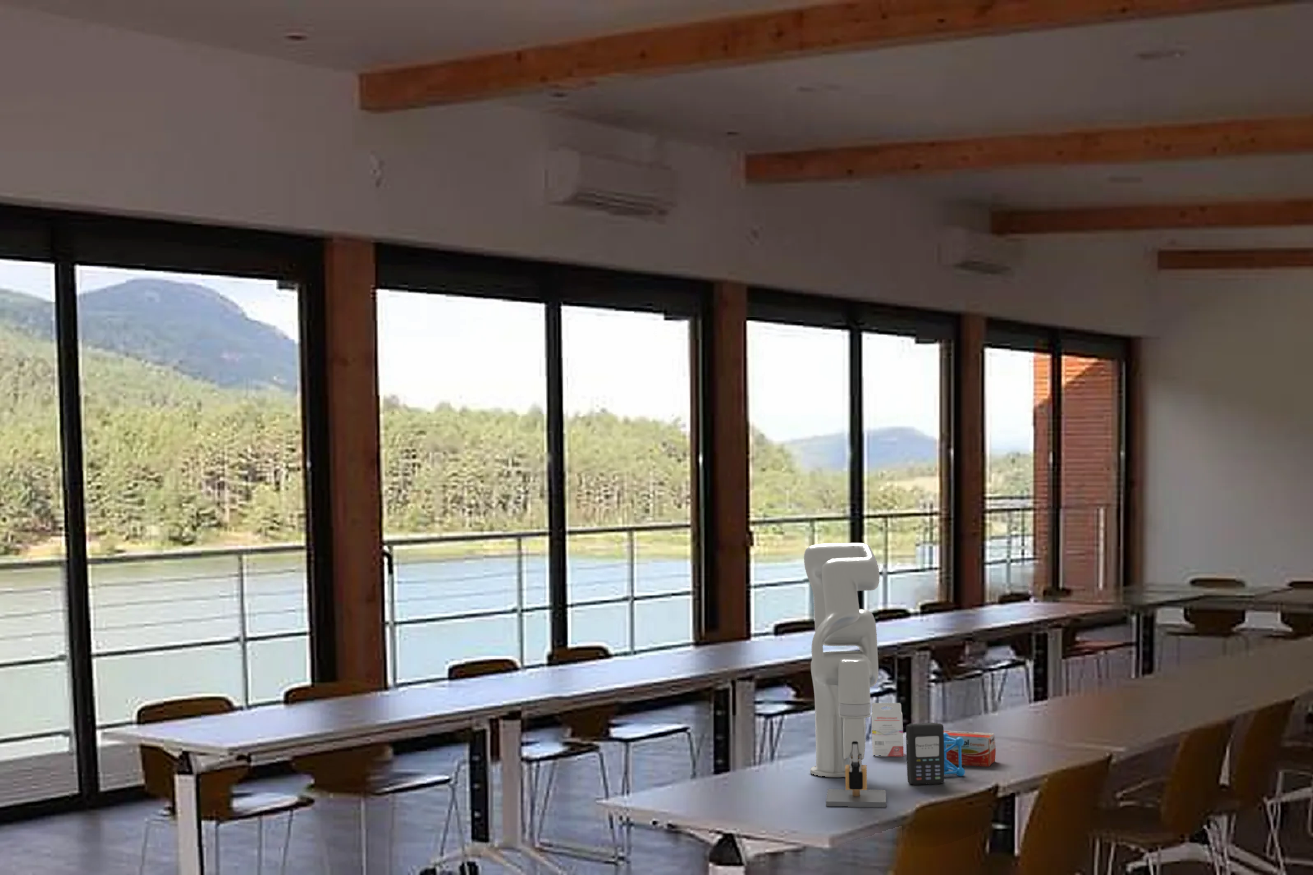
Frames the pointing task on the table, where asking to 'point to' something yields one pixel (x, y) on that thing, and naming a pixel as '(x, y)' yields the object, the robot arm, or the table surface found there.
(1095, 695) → the table surface
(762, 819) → the table surface
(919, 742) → the card reader
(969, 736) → the medicine box
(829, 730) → the robot arm
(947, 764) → the molecular structure
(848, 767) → the tan wooden cube
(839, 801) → the plate
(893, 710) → the ink cartridge box
